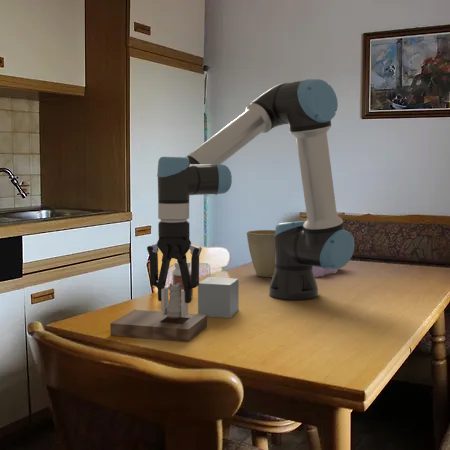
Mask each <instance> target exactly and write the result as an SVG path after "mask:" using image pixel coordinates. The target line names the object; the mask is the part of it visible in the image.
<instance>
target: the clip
mask: <svg viewBox="0 0 450 450" xmlns="http://www.w3.org/2000/svg"><path fill="white" fill-rule="evenodd" d="M335 272H337V273H338V269H324V268H321V267H317V266H313V274H314V277H315V278H317V277H316V276H321V277H324V275H330V274H329V273H333V274H336V273H335ZM323 274H324V275H323Z"/></svg>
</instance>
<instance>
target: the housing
mask: <svg viewBox="0 0 450 450" xmlns="http://www.w3.org/2000/svg"><path fill="white" fill-rule="evenodd" d="M239 286H240V285H239V278H232V277H231V278H230V277H216V276H215V277H210V276H207V277H206V278H204V279H203V280H201V281H199V285H198V286H197V314H202V315H207V318H208V317H209V318H210V317H211V318H224V319H230V318H232V317H233V316H234V315H235V314H236V313H238V311H239V307H240V306H239V304H240V302H239V301H240V300H239V299H240V296H239V294H240V293H239V292H240V291H239V288H240V287H239Z"/></svg>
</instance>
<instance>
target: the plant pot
mask: <svg viewBox="0 0 450 450" xmlns="http://www.w3.org/2000/svg"><path fill="white" fill-rule="evenodd" d="M275 231H276V229H255V230H249V231H246V238H247V244H248V245H247V247H248V251H249V254H250V258H251V261H252V262H251V263H252V265H253V269H254V270H255V271H254V272H255V274H256V276H258V277H263V278H264V277H265V278H271V277H272V278H273V275H274V272H275Z"/></svg>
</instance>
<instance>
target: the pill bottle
mask: <svg viewBox="0 0 450 450" xmlns="http://www.w3.org/2000/svg"><path fill="white" fill-rule="evenodd" d="M187 266H188V270H189V275H190V279H191V261H187ZM174 267H175V269H173V271H172V284H173V283H175V285H176V283H178V284H180V287H181V289H180V301H181V290H183V289H184V285H183V281H182V277H181V272H180V268H179V264H178V262H177V261H175V262H174ZM193 297H194V288H192V290H191V299H192V298H193Z"/></svg>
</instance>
